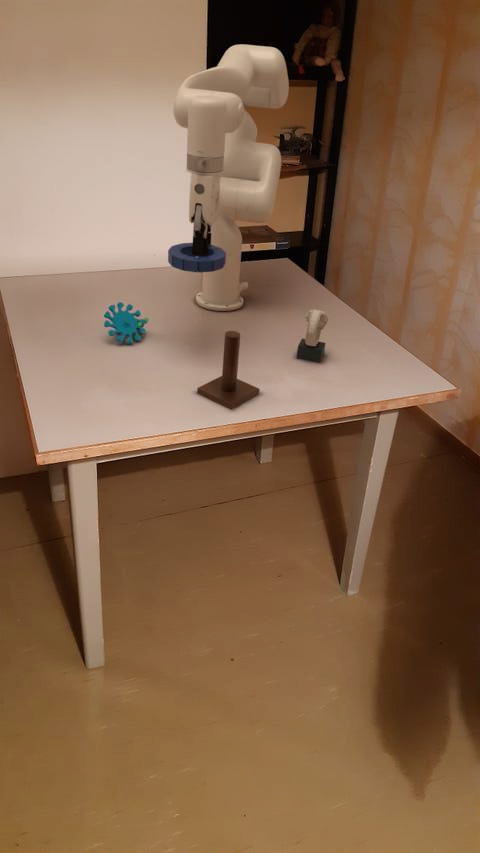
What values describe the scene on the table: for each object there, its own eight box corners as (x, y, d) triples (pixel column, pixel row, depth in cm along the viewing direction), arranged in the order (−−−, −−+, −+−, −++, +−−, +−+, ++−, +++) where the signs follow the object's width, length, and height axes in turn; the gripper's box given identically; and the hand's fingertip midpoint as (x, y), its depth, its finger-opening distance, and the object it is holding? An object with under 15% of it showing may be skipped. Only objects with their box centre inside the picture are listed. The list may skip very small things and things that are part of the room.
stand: (225, 378, 141) (229, 320, 134) (259, 393, 137) (265, 334, 130) (197, 393, 135) (199, 333, 128) (231, 409, 131) (236, 348, 124)
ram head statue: (325, 351, 156) (332, 307, 150) (318, 366, 150) (325, 320, 144) (301, 347, 157) (307, 303, 151) (294, 361, 151) (300, 315, 145)
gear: (111, 343, 148) (101, 301, 149) (101, 352, 153) (92, 312, 154) (155, 340, 154) (145, 300, 156) (145, 350, 159) (135, 311, 160)
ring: (195, 249, 149) (195, 239, 147) (235, 264, 143) (236, 253, 141) (157, 261, 141) (157, 249, 139) (198, 276, 135) (199, 265, 133)
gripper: (215, 174, 128) (211, 267, 138) (230, 158, 142) (225, 244, 151) (177, 170, 129) (175, 262, 139) (195, 154, 142) (192, 240, 152)
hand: (201, 252), depth 145 cm, fingers closed on ring, 2 cm apart
